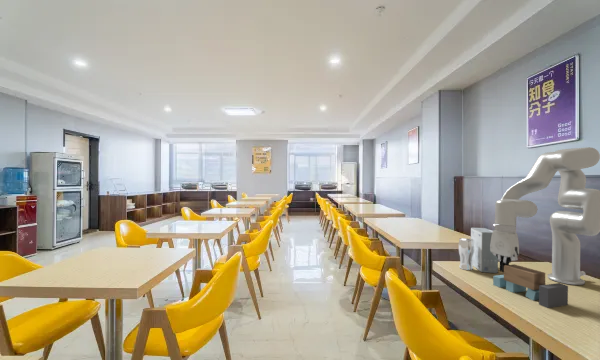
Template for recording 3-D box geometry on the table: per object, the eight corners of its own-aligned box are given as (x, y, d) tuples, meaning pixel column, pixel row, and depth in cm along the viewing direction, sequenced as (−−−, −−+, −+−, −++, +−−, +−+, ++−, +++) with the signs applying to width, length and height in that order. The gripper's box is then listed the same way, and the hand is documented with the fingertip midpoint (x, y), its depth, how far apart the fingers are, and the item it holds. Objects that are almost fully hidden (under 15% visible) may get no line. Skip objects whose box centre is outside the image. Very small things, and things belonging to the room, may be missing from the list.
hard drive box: (498, 273, 144) (498, 232, 143) (481, 272, 145) (481, 232, 145) (485, 264, 159) (485, 227, 159) (469, 263, 160) (470, 227, 160)
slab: (514, 278, 125) (514, 264, 125) (545, 288, 113) (545, 272, 113) (503, 279, 123) (503, 265, 123) (534, 289, 112) (534, 274, 112)
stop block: (558, 301, 111) (558, 283, 111) (567, 304, 108) (568, 285, 108) (539, 304, 108) (539, 285, 108) (547, 307, 106) (548, 288, 106)
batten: (538, 294, 117) (541, 285, 116) (546, 298, 114) (549, 290, 113) (525, 296, 115) (527, 287, 114) (533, 300, 112) (535, 292, 111)
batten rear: (505, 283, 130) (505, 274, 130) (512, 285, 127) (512, 276, 127) (493, 284, 128) (493, 275, 128) (499, 287, 125) (499, 278, 125)
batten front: (519, 288, 124) (519, 279, 124) (526, 291, 121) (526, 281, 121) (506, 290, 122) (506, 280, 122) (513, 292, 120) (513, 282, 119)
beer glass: (455, 267, 153) (455, 238, 153) (464, 265, 156) (464, 237, 156) (467, 271, 147) (467, 241, 147) (477, 269, 150) (477, 240, 149)
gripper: (483, 226, 133) (482, 266, 133) (515, 232, 118) (513, 277, 118) (496, 225, 134) (495, 265, 135) (529, 231, 120) (528, 276, 120)
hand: (504, 271), depth 126 cm, fingers closed
